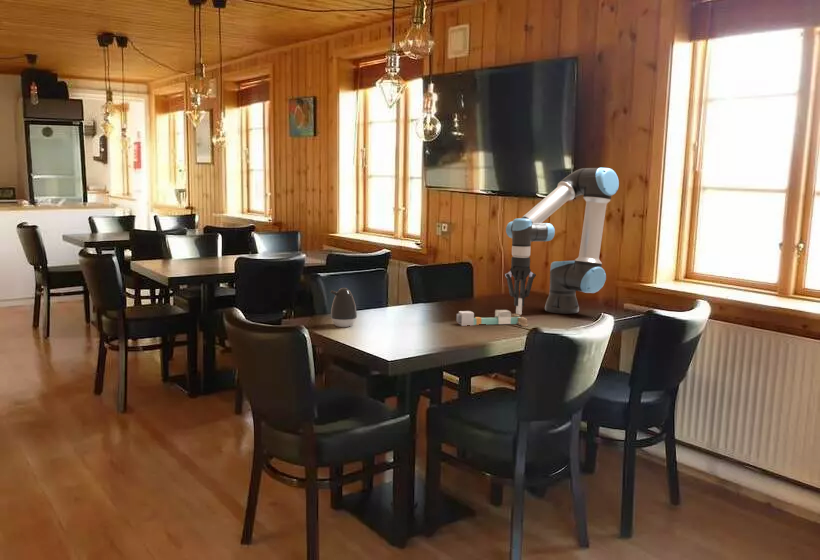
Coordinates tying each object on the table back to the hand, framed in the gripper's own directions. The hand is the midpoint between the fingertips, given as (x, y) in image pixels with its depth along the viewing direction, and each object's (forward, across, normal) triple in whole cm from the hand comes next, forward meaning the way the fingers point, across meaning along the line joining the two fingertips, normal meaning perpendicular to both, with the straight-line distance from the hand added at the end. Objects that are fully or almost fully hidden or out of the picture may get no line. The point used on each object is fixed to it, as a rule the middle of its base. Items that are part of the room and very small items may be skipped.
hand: (518, 313), depth 292 cm
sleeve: (+4, +7, 0) cm, 8 cm away
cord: (+4, +12, 0) cm, 13 cm away
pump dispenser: (+4, +72, -2) cm, 72 cm away
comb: (+4, 0, 0) cm, 4 cm away
